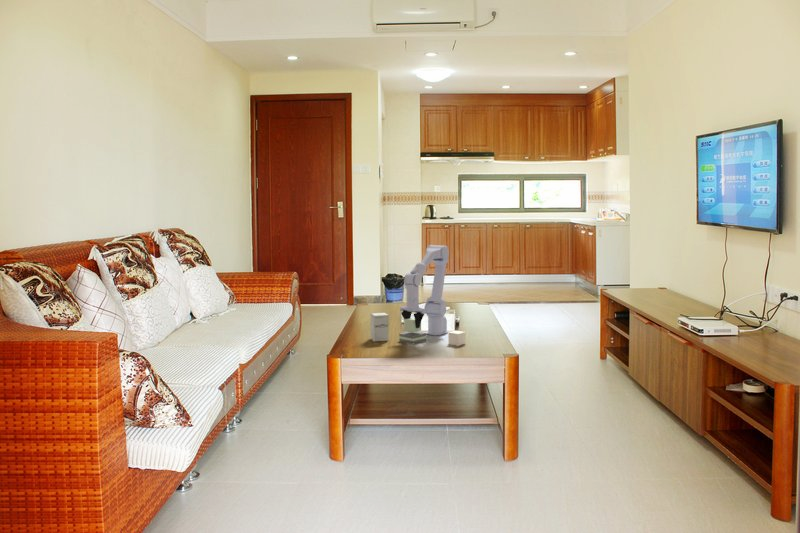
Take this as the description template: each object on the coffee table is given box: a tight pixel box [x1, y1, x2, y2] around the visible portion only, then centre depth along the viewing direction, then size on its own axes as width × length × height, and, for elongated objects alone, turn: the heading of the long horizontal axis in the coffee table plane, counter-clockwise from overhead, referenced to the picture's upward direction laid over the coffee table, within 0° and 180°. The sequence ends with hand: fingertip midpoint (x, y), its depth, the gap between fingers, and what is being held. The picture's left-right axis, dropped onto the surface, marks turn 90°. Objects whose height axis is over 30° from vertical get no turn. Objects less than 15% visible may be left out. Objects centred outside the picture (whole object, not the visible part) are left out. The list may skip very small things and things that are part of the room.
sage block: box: [403, 317, 422, 332], centre depth 322 cm, size 6×6×6 cm
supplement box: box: [369, 312, 390, 343], centre depth 325 cm, size 7×7×13 cm
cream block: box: [448, 330, 466, 347], centre depth 316 cm, size 6×6×6 cm
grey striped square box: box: [398, 331, 427, 345], centre depth 323 cm, size 9×9×4 cm
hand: (412, 327), depth 322 cm, fingers closed on sage block, 5 cm apart
